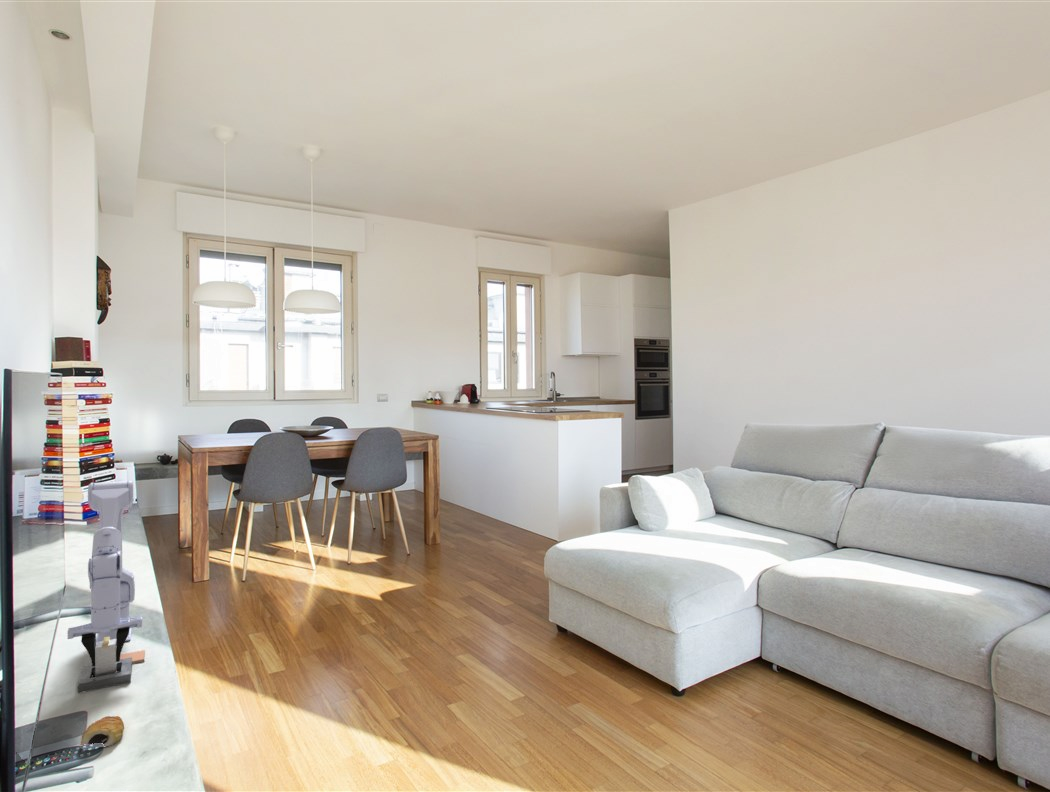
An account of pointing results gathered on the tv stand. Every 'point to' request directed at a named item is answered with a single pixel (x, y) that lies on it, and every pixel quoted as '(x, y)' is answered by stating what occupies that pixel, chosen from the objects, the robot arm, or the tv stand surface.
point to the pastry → (104, 731)
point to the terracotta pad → (134, 656)
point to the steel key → (105, 657)
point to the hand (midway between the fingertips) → (106, 662)
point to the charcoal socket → (105, 676)
